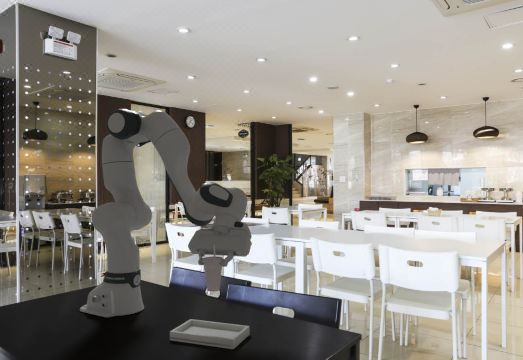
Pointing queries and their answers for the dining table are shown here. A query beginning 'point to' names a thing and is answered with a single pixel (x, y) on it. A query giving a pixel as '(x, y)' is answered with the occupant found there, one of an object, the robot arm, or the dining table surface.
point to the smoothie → (213, 271)
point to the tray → (210, 333)
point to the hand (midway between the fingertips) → (212, 264)
